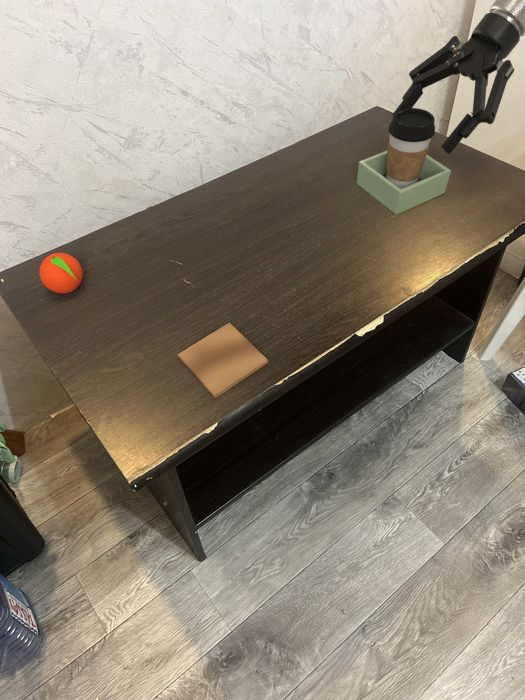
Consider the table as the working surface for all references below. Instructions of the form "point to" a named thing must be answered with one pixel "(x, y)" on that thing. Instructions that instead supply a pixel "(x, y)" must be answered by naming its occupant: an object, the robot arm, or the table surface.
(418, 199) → the holder
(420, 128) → the coffee cup
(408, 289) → the table surface
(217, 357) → the trivet
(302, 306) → the table surface
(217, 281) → the table surface
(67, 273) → the clementine
